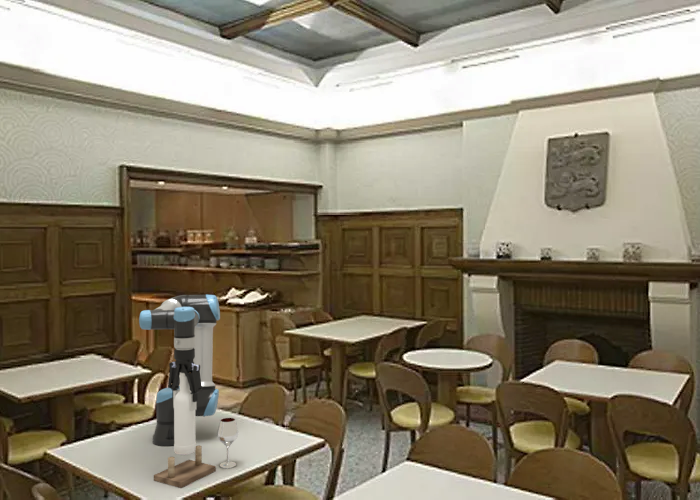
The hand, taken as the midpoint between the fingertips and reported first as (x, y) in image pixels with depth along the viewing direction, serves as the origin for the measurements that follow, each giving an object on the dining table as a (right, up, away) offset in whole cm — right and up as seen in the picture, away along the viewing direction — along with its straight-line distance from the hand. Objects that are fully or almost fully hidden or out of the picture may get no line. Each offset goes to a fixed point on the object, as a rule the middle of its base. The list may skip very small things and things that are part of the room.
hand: (184, 408), depth 224 cm
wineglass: (+14, -25, +11) cm, 31 cm away
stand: (0, -25, 0) cm, 25 cm away
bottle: (0, -16, 0) cm, 16 cm away
